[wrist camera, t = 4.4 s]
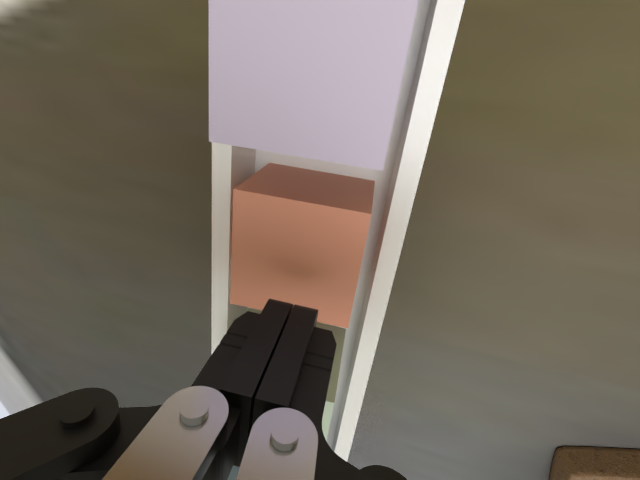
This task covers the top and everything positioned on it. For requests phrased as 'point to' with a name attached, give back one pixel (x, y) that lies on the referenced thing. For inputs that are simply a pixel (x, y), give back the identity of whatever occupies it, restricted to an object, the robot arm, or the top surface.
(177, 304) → the top surface
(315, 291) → the terracotta key
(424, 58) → the frame
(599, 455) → the candle holder
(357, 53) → the lavender block
